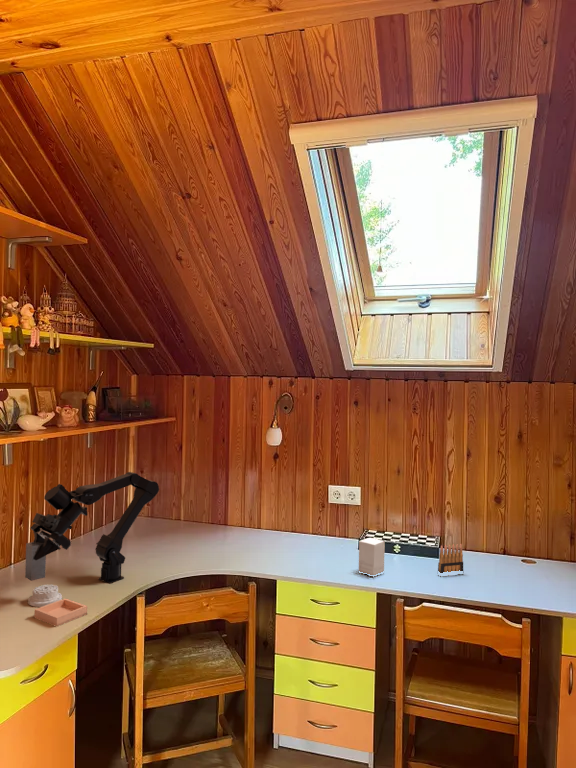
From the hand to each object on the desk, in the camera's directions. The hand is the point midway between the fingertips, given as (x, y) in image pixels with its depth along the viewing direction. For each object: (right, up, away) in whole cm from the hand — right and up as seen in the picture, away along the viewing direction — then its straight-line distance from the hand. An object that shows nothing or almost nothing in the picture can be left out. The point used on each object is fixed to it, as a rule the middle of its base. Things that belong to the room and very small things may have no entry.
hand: (31, 557), depth 179 cm
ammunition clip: (+146, -19, +37) cm, 152 cm away
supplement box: (+115, -18, +36) cm, 122 cm away
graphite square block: (+1, -7, +1) cm, 7 cm away
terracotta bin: (+14, -14, -11) cm, 23 cm away
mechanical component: (+4, -14, 0) cm, 15 cm away
